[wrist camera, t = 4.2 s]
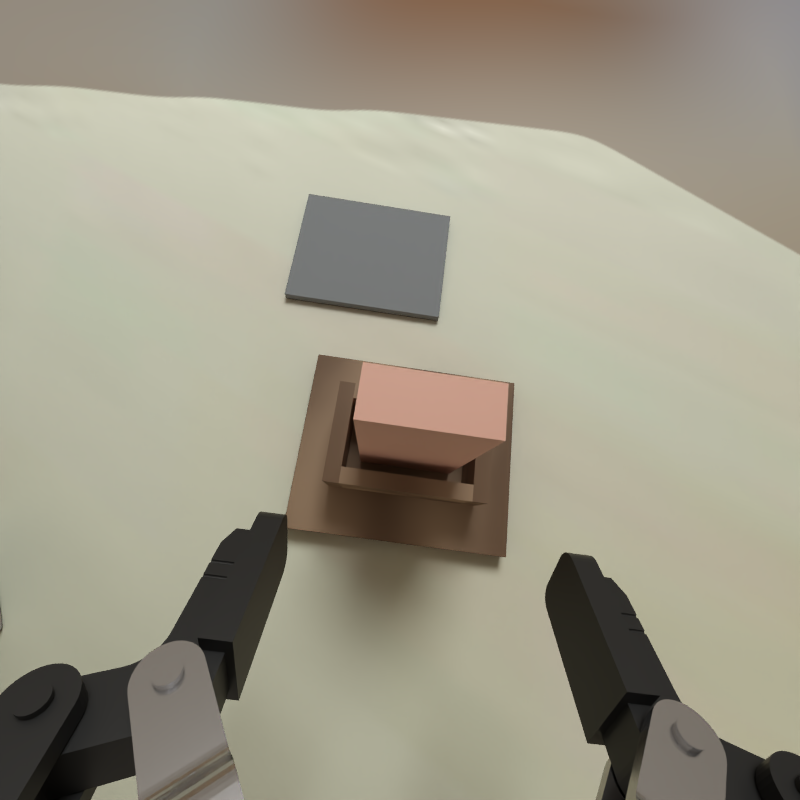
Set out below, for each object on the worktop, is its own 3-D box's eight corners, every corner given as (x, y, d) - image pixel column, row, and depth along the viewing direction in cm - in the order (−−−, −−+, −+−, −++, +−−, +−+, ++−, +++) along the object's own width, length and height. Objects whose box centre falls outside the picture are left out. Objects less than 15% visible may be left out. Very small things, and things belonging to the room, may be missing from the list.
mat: (448, 221, 29) (450, 216, 28) (437, 320, 26) (438, 316, 26) (310, 199, 28) (309, 194, 28) (286, 297, 26) (284, 293, 26)
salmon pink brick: (451, 439, 23) (508, 383, 14) (448, 473, 23) (505, 440, 13) (366, 427, 23) (362, 361, 13) (360, 461, 22) (353, 419, 13)
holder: (508, 388, 25) (539, 359, 21) (500, 555, 22) (533, 565, 18) (320, 360, 25) (309, 325, 20) (287, 527, 22) (265, 529, 18)
